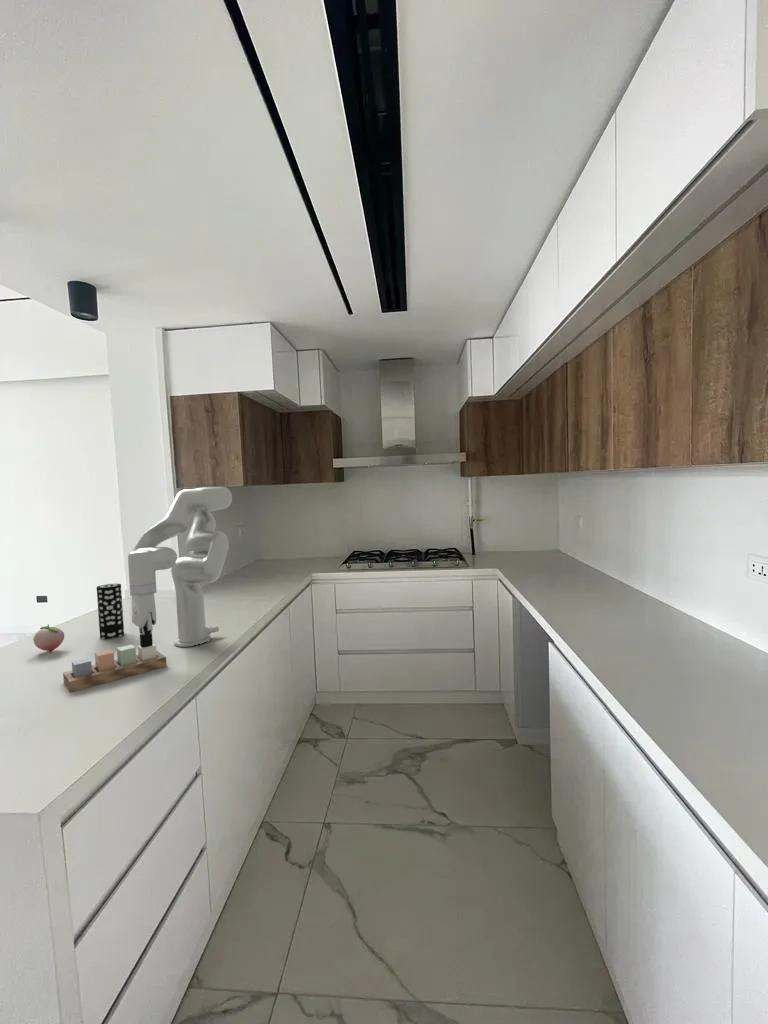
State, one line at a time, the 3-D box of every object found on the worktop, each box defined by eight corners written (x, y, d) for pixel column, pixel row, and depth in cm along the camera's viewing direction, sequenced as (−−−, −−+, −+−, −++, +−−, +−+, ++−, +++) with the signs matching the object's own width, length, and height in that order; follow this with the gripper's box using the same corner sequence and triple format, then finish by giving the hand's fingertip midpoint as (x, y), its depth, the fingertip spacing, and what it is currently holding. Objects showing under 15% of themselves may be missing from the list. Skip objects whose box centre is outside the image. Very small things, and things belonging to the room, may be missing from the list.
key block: (156, 658, 158) (155, 649, 158) (166, 666, 151) (166, 657, 151) (63, 682, 141) (63, 672, 141) (70, 692, 133) (69, 681, 133)
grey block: (89, 674, 143) (88, 657, 142) (92, 677, 140) (91, 661, 139) (72, 678, 140) (71, 661, 140) (75, 682, 137) (74, 665, 137)
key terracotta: (111, 665, 147) (110, 649, 146) (114, 668, 144) (113, 652, 143) (95, 669, 144) (94, 652, 144) (99, 672, 141) (98, 656, 141)
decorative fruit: (27, 655, 167) (25, 627, 166) (49, 647, 175) (47, 621, 174) (49, 656, 165) (47, 628, 164) (70, 648, 173) (68, 621, 172)
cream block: (152, 657, 155) (151, 642, 155) (157, 661, 152) (156, 645, 152) (138, 661, 152) (137, 646, 152) (142, 664, 149) (141, 649, 149)
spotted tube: (94, 638, 184) (91, 587, 183) (112, 632, 192) (109, 583, 191) (111, 639, 182) (108, 588, 181) (129, 633, 190) (125, 583, 189)
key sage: (132, 659, 151) (131, 644, 151) (136, 663, 148) (135, 647, 147) (117, 663, 148) (116, 647, 148) (121, 667, 145) (120, 650, 145)
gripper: (123, 588, 154) (127, 644, 154) (137, 594, 143) (140, 654, 143) (148, 584, 159) (151, 638, 160) (163, 590, 148) (166, 648, 149)
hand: (146, 646), depth 152 cm, fingers closed
